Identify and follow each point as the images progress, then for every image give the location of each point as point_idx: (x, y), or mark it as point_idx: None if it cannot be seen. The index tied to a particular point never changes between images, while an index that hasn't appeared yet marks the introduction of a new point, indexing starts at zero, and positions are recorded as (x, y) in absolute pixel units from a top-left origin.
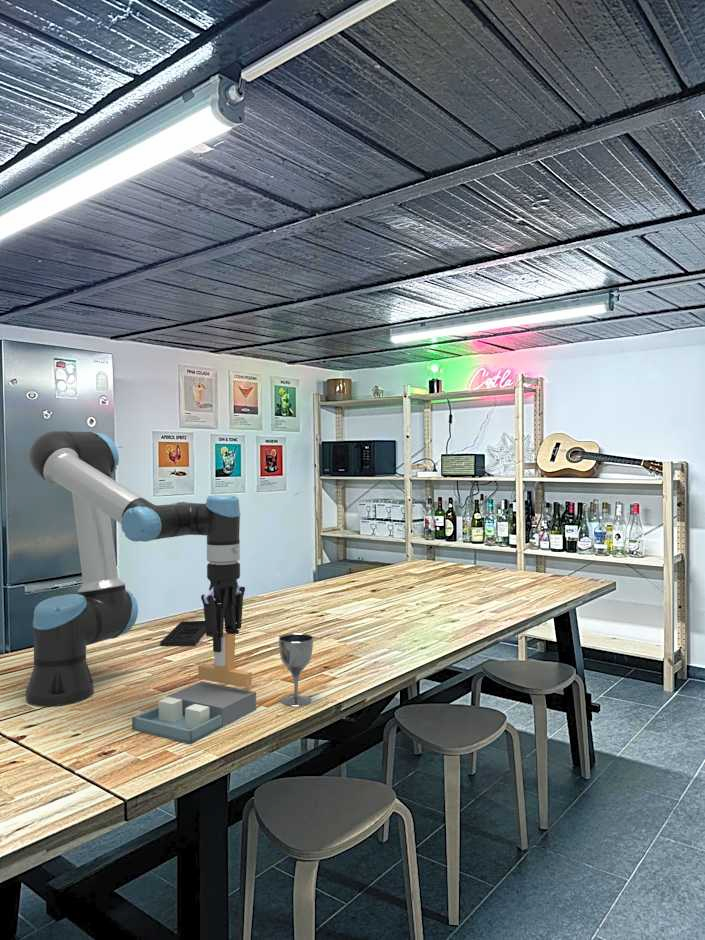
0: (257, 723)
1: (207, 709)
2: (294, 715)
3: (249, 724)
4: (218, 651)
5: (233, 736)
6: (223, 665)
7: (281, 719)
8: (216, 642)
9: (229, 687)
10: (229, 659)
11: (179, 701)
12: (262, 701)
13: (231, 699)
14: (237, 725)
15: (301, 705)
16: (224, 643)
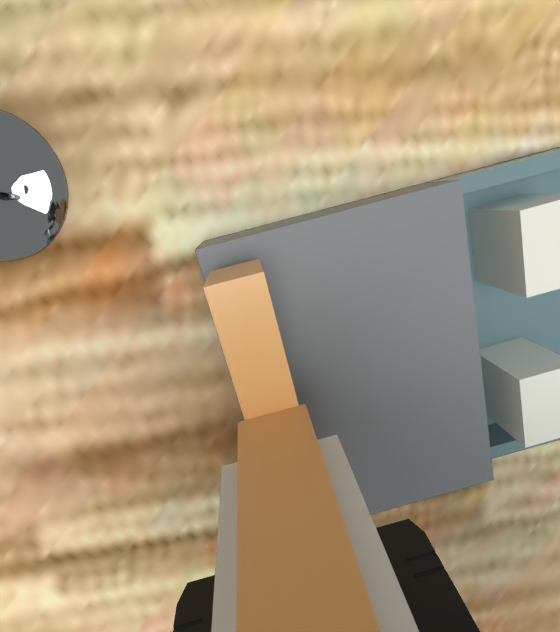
0: (303, 99)
1: (528, 207)
2: (114, 35)
3: (333, 118)
4: (410, 526)
5: (462, 62)
6: (337, 439)
7: (195, 46)
8: (467, 615)
9: None
10: (299, 453)
11: (536, 373)
12: (122, 298)
13: (352, 250)
14: (372, 150)
15: (5, 112)
16: (373, 580)
